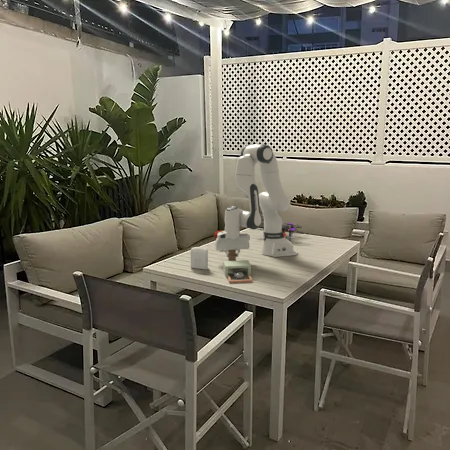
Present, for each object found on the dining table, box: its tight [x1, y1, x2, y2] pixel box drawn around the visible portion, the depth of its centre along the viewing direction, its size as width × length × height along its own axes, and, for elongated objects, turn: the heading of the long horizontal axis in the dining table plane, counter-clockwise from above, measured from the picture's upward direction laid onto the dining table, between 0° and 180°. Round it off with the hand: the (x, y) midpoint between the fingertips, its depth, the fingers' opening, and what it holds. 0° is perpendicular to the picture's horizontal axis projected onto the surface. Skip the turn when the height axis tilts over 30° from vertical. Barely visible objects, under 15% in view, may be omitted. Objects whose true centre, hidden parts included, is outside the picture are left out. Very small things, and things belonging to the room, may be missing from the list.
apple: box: [214, 229, 224, 241], centre depth 304 cm, size 11×11×12 cm
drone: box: [256, 222, 305, 242], centre depth 330 cm, size 40×10×28 cm
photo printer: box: [190, 246, 209, 270], centre depth 258 cm, size 10×4×12 cm, turn 69°
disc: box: [233, 271, 245, 280], centre depth 241 cm, size 5×5×2 cm
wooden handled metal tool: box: [227, 250, 240, 270], centre depth 264 cm, size 18×4×8 cm, turn 7°
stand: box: [222, 259, 252, 278], centre depth 249 cm, size 14×10×6 cm
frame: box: [226, 274, 253, 284], centre depth 238 cm, size 12×10×1 cm
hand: (232, 256), depth 269 cm, fingers closed on wooden handled metal tool, 4 cm apart
